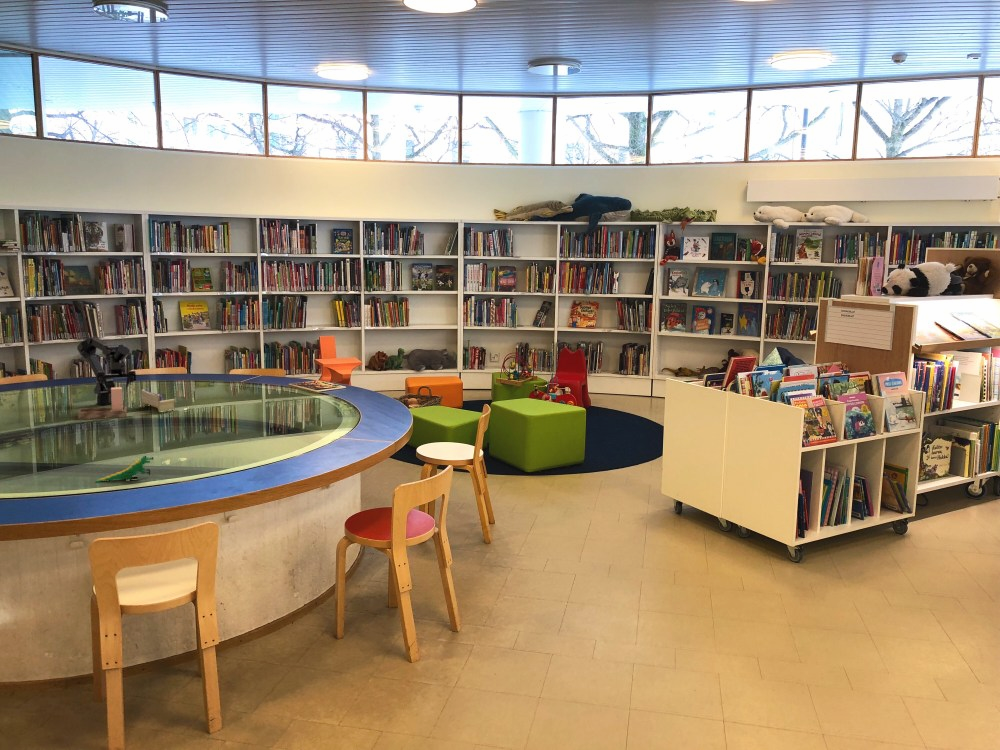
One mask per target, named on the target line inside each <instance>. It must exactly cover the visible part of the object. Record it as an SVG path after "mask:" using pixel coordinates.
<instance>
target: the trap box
mask: <svg viewBox="0 0 1000 750" xmlns="http://www.w3.org/2000/svg"><path fill="white" fill-rule="evenodd" d="M127 409H128V407H127V406H123V410H117V411H112V406H111V407H110V406H109V407H106V406H105V407H89V408H87V407H86V408H83V407H82V408H78V412H77V420H88V419H89V420H91V419H90V418H98V419H108V418H107V417H119V418H127V415H128V414H127V413H128V410H127ZM125 416H126V417H125ZM105 417H106V418H105Z"/></svg>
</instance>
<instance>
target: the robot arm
mask: <svg viewBox="0 0 1000 750" xmlns="http://www.w3.org/2000/svg"><path fill="white" fill-rule="evenodd" d="M76 347H77V351H78V353H79V354H80V355H81V357H83V358H85V359H86V361H87V362H88V365H89V366H90V368H91V370H92V372H93V374H94V376H95V378H96V382H95V385H96V386H95V387H94V389H93V391H94V394H95V395H97V396H96V403H95V405H99V406H108V405H109V406H110V405H112V400H111V388H115V387H116V383H115V382H114V379H126V384H125V385H126V386H125V390H128V389H129V387H130V385H131V383H134V382H135V381H137V372H136V370H127V373H124V372H123V369H126V361H124V360H126V358H127V357H128V355H129V354H130V352H131V351H130V349H129V348H128V347H127V346H124V344H113V343H108V342H106V341H104V340H102V339H101V338H99V337H98V336H89V337H87V338H86V339H85V340H83V341H81V342H79V343H78V345H77V346H76ZM97 349H98V350H100V351H102V352H101V353H102V354H103V355H104V356H105V357H110V360H109V363H110V370H109V371H110V372H109V373H106V371H105V370H104V369H103V367H102V364H101V363H100V361H99V359H98V357H97V355H96V352H97Z"/></svg>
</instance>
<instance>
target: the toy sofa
mask: <svg viewBox="0 0 1000 750" xmlns="http://www.w3.org/2000/svg"><path fill="white" fill-rule="evenodd" d="M140 392H141V395H140V398H141V399H140V401H141V404H140V405H141V406H148V405H151V406H150V407H154V408H157V410H158V412H159V411H163V410H169V409H173V408H174V409H175V402H176V401H175V398H170V399H165V400H164V399H162V395H161V394H159V393H155V392H151V391H149V390H147V389H141V391H140Z"/></svg>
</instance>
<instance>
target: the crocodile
mask: <svg viewBox="0 0 1000 750" xmlns="http://www.w3.org/2000/svg"><path fill="white" fill-rule="evenodd" d="M151 462H154V456H150V457H149V456H148V457H147V455H143V456H142V457H141V458H140V457H139V459H137V461H133V462H132V464H131V465H130V466H128V468H125V469H124V470H121V471H119V472H118V471H117V472H115V474H114V473H111V474H110V475H107V476H106V475H105V477H102V478H101V477H100V478H99V479H96V480H95V482H96V483H99V482H98V481H103V480H104V481H105V480H106V481H107V480H113V481H115V479H116V480H125V479H131V478H132V476H135V475H136V476H137V474H138V472H139V473H141V475H144V474H145V475H146V474H148V475H149V476H150V475H151V469H150V468H145V467H144V465H145V464H151ZM124 478H125V479H124ZM132 479H133V478H132Z"/></svg>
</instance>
